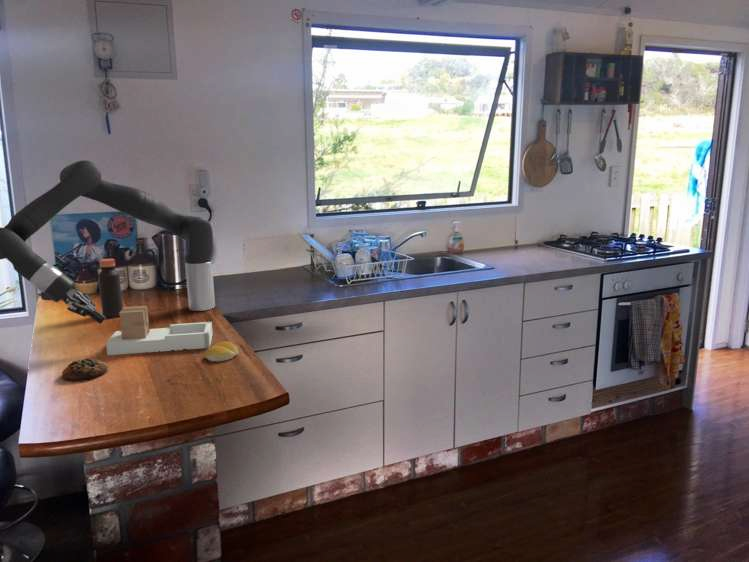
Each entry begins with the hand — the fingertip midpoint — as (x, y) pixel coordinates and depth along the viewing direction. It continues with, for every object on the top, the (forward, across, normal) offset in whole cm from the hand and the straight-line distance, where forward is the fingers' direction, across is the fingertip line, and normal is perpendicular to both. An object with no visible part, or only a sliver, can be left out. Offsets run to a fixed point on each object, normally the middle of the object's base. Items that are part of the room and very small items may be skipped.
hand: (103, 320), depth 179 cm
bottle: (+2, +38, +11) cm, 40 cm away
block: (+10, 0, -2) cm, 10 cm away
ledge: (+13, 0, -1) cm, 13 cm away
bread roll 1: (+6, -20, +7) cm, 22 cm away
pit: (+23, 0, -10) cm, 25 cm away
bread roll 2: (+30, -14, -17) cm, 38 cm away
